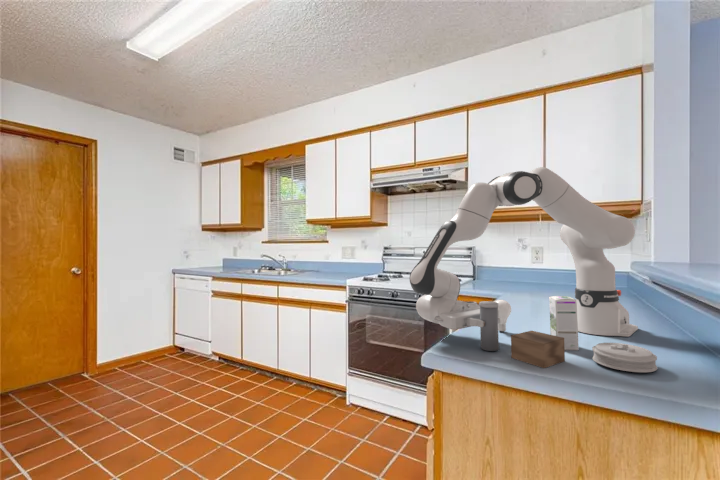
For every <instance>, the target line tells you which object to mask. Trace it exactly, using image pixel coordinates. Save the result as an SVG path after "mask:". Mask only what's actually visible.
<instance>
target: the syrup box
mask: <svg viewBox="0 0 720 480" xmlns="http://www.w3.org/2000/svg"><path fill="white" fill-rule="evenodd" d="M548 299H549V300H548V302H549V321H550V322H549V325H550V327H549V329H550V335H554V336H558V337H563V338H564V349H565V351H579V331H578V321H577V300H576V298H573V297H571V296H566V295H565V296H564V295H554V296H553V295H552V296H549V298H548Z"/></svg>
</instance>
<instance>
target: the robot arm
mask: <svg viewBox="0 0 720 480" xmlns="http://www.w3.org/2000/svg"><path fill="white" fill-rule="evenodd" d="M531 201H533V202H535V203H536V204H537V206H539V207H540V208H541V209H542V211H544V212H545V213H546V214H548V216H550V217H551V218H552V219H553V220H554V221H555V222H556V223H558V224H561V228H560V231H559V236H560V239H561V241H562V242H563V244H565V245H566V246H567V248H568V249H569V251H570V254H571V255H572V256H571V257H572V259H573V263H574V268H575V280H576V281H575V282H576V283H575V285H576V286H575V289H574V299H576V300H577V321H578V333H579V332H581V333H584V334H590V335H596V336H605V337H606V336H610V337H611V336H612V337H613V336H614V337H626V338H627V337H630V336H632V335H633V334H634V333H635V332H636V331H638V330H639V326H638V325H635V324H633V323H632V324H631V323H630V313H629V310H627V309H626V308H625V307H624V306H623V305H622V304H621V302H620V299H619V297H621V296H622V290H620V289H616V287H617V286H616V268H615V266H614V264H613V263H612V262H611V261H610V260H608V258H607V257H606V255H605V253H604V249H605V250H606V249H608V250H609V249H610V250H611V249H617V248H620V247H624V246H627V245H629V244H630V243H631V242H632V241H633V239H634V236H635V231H636V230H635V225H634V224H633V222H632V220H630V219H629V218H627V216H626V217H625V216H622V215H620V214H616V213H613V212H611V211H608V210H606V209H604V208H602V207H601V206H598V205H597V204H595V203H594V202H591V201H590V200H589V199H587V198H586V197H584V196H583V195H581V194H580V193H579V191H577V190H576V189H575V188H574V187H573V186H572V185H571V184H570V183H568V182H567V181H566V180H565V179H564V178H563V177H561V176H560V175H559V174H557V172H556V173H555V171H553V170H552V169H549V168H547V167H545V166H540V167H539V166H538V167H536V168H534V169H531V170H530V171H523V170H518V171H517V170H516V171H512V172H506V173H505V174H502V175H499V176H496V177H494V178H493V179H491V180H490V181H489V182H488V183H486V182H476V183H473V184H472V185H471V186H470V187H469V188H468V189H467V191H466V193H465V195H464V196H463V197H462V199H461V201H460V203H459V205H458V208H457V210H456V212H455V214H454V215H453V217H452V218H451V219H450V220H449V221H445V222H444V223H443V224H442V225H441V226H440V227H439V229H438V231H437V232H436V233H435V235H434V236H433V239H432V240H431V242H430V244H429V245H428V247H427V248H426V250H425V252H424V253H423V255H422V257H421V258H420V260H419V261H418V262H417V263H416V264H415V266H414V267H413V269H412V270H411V272H410V274H409V284H410V286H411V289H412V290H413V291H414V293H416V294H418V295H422V296H420V297H418V298H417V301H416V304H415V308H416V312H417V313H418V316H420V317H421V319H424V320H425V321H427V322H430V323H431V322H432V324H433V323H434V324H439V325H440V326H441V327H444V328H446V329H450V330H456V331H457V330H462V329H465V328H471V327H485V326H486V321H485V320H481V319H480V306H479V303H478V302H477V301H463V300H458V298H459V296H460V290H461V281H460V279H459V277H458V276H457V275H456V274H455V273H452V272H450V271H447V270H444V269H441V268H438V265H439V264H440V262H441V260H442V259H443V257H444V256H445V254H446V252H447V250H448V249H449V247H451V246H452V245H453V244H455V243H458V242H466V241H473V240H476V239H478V238H479V237H481V236H482V235H483V234H484V233H485V231H486V230H487V228H488V225H489V223H490V221H491V219H492V216H493V213H494V211H496V208H498V207H503V206H504V207H514V206H522V205H525V204H528V203H530V202H531ZM499 323H500V318H499V310H498V324H499Z"/></svg>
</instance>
